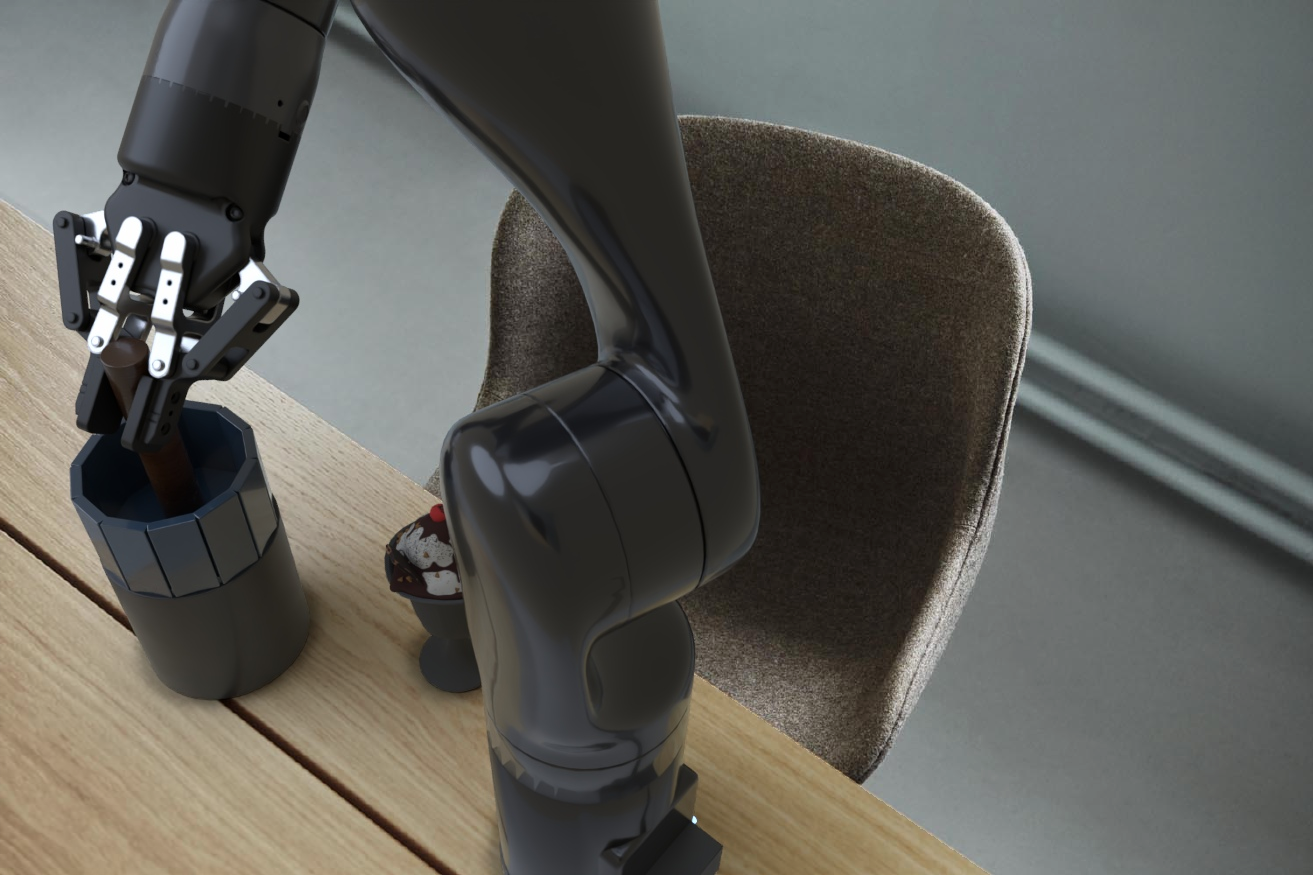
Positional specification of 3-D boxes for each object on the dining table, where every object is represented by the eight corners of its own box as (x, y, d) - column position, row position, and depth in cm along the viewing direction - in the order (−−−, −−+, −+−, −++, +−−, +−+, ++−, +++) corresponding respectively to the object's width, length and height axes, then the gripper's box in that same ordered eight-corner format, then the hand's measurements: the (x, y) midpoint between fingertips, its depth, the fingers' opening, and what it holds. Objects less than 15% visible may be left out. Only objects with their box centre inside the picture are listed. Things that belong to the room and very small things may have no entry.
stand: (342, 625, 72) (315, 522, 64) (211, 730, 66) (166, 630, 59) (246, 546, 76) (211, 441, 68) (116, 638, 70) (62, 534, 63)
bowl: (310, 523, 64) (292, 456, 61) (167, 625, 59) (137, 560, 55) (210, 444, 68) (187, 376, 64) (68, 534, 63) (33, 467, 59)
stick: (215, 504, 64) (157, 341, 55) (195, 534, 62) (131, 371, 54) (180, 496, 64) (116, 333, 55) (158, 525, 63) (89, 362, 54)
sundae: (523, 617, 73) (512, 456, 62) (503, 710, 68) (487, 553, 57) (420, 606, 73) (391, 443, 62) (393, 698, 68) (356, 539, 57)
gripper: (54, 39, 53) (-54, 391, 54) (301, 113, 50) (180, 489, 51) (163, 92, 61) (66, 401, 62) (385, 160, 57) (279, 488, 58)
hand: (118, 439), depth 56 cm, fingers closed on stick, 2 cm apart
